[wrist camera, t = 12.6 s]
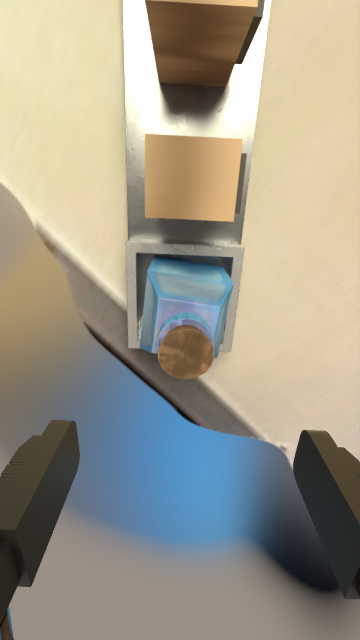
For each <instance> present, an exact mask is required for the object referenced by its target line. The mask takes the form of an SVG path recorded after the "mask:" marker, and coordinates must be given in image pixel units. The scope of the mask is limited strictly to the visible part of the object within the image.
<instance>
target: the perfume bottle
mask: <svg viewBox="0 0 360 640" xmlns="http://www.w3.org/2000/svg"><path fill="white" fill-rule="evenodd" d="M233 285H234V282H233V281H232V279H231V278H230V277H229V275H228V274H227V272H226V271H225V269H224V268H223V267H222V266H221V265H214V264H207V263H200V262H194V261H187V260H180V259H173V258H167V257H160V256H154V258H153V260H152V262H151V264H150V266H149V268H148V271H147V280H146V290H145V299H144V309H143V319H142V328H141V338H140V347H139V348H141V349H144V350H146V351H149V352H151V353H158V360H159V362H160V365H161V367H162V368H163V369H164V370H165V371H166V372H167V373H168V374H170V375H172V376H173V377H177V378H180V379H192V378H195V377H199V376H200V375H202V374H203V373H205V372H206V371H207V370H208V369H209V368H210V367H211V365H212V362H213V360H214V359H215V358H217V356H218V351H219V347H220V342H221V338H222V333H223V329H224V325H225V320H226V316H227V311H228V307H229V302H230V298H231V294H232V289H233Z"/></svg>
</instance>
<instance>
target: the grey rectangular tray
mask: <svg viewBox="0 0 360 640" xmlns="http://www.w3.org/2000/svg"><path fill="white" fill-rule="evenodd" d="M270 3H271V0H265V5H264V13H263V18H262V20H261V23H260V25H259V27H258V30H257V32H256V34H255V36H254V39H253V41H252V43H251V45H250V48H249V50H248V52H247V54H246V57H245V59H244V61H243V63H242V65H240V64H235V66H234V68H233V71H232V73H231V76H230V79H229V81H228V84H227V86H226V87H223V86H205V85H188V84H170V83H159V81H158V76H157V70H156V64H155V58H154V52H153V46H152V41H151V35H150V29H149V23H148V17H147V11H146V6H145V0H123V27H124V70H125V113H126V156H127V199H128V241H126V274H127V311H128V348H139V347H140V338H141V328H142V319H143V309H144V299H145V290H146V280H147V271H148V268H149V266H150V264H151V262H152V260H153V258H154V256H160V257H167V258H173V259H180V260H187V261H194V262H200V263H207V264H214V265H221V266H222V267H223V268H224V269H225V271H226V272H227V274H228V275H229V277H230V278H231V279H232V281H233V282H234V285H233V289H232V294H231V298H230V302H229V307H228V311H227V316H226V320H225V325H224V329H223V333H222V338H221V342H220V347H219V351H218V352H231V348H232V340H233V333H234V325H235V317H236V309H237V302H238V294H239V286H240V278H241V271H242V263H243V255H244V247H243V246H241V238H242V229H243V221H244V213H245V205H246V197H247V189H248V181H249V173H250V165H251V157H252V148H253V140H254V132H255V124H256V116H257V108H258V100H259V92H260V84H261V76H262V67H263V59H264V51H265V43H266V35H267V27H268V19H269V11H270ZM145 134H161V135H180V136H199V137H217V138H236V139H243V142H242V151H241V153H247V158H246V166H245V175H244V183H243V192H242V200H241V209H240V214H234V222H229V221H209V220H188V219H167V218H146V217H145Z"/></svg>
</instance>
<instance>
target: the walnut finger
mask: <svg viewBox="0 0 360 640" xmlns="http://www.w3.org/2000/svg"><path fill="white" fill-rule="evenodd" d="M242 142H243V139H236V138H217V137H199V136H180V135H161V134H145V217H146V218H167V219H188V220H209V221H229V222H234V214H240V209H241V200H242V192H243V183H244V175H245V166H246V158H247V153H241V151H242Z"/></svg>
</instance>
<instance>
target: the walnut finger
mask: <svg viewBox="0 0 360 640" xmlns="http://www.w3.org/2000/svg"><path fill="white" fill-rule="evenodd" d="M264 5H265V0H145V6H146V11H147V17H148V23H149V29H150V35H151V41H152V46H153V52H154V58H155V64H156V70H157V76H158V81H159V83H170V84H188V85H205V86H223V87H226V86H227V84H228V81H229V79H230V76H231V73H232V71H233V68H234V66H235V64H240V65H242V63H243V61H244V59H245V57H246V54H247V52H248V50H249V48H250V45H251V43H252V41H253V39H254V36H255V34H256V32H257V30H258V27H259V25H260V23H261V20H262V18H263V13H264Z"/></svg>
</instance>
